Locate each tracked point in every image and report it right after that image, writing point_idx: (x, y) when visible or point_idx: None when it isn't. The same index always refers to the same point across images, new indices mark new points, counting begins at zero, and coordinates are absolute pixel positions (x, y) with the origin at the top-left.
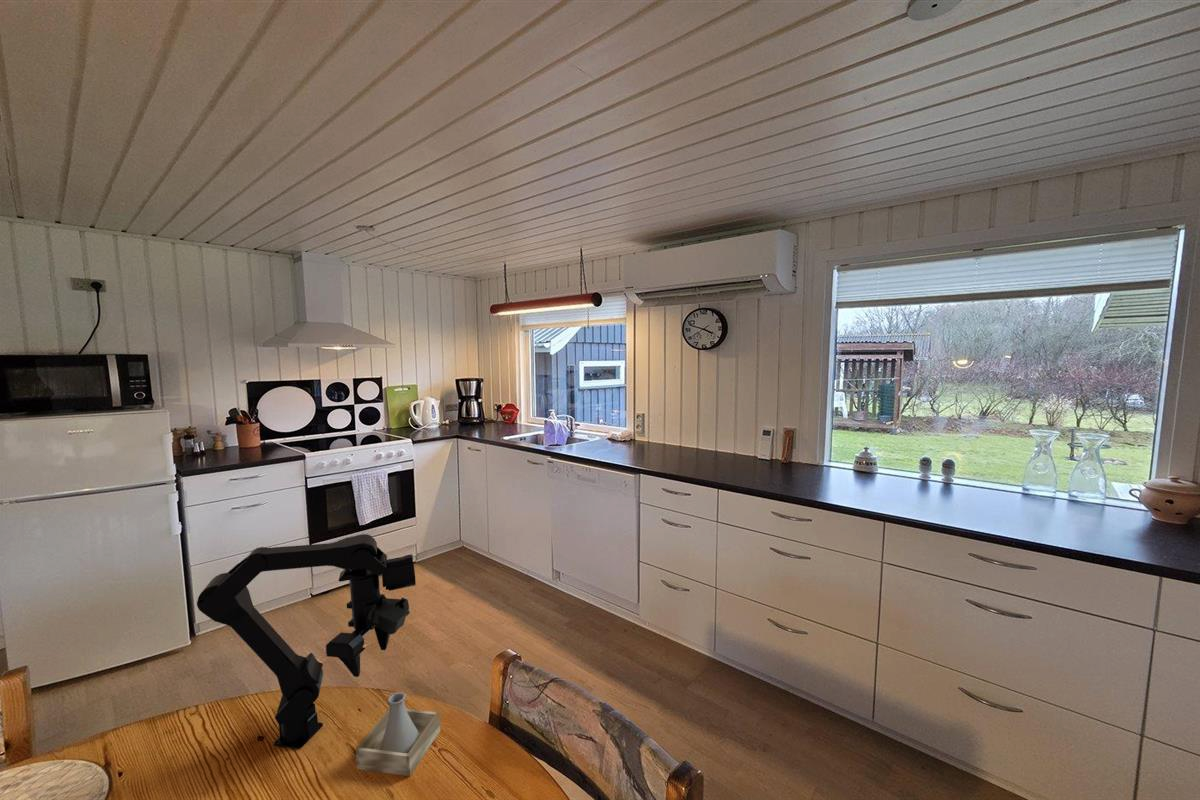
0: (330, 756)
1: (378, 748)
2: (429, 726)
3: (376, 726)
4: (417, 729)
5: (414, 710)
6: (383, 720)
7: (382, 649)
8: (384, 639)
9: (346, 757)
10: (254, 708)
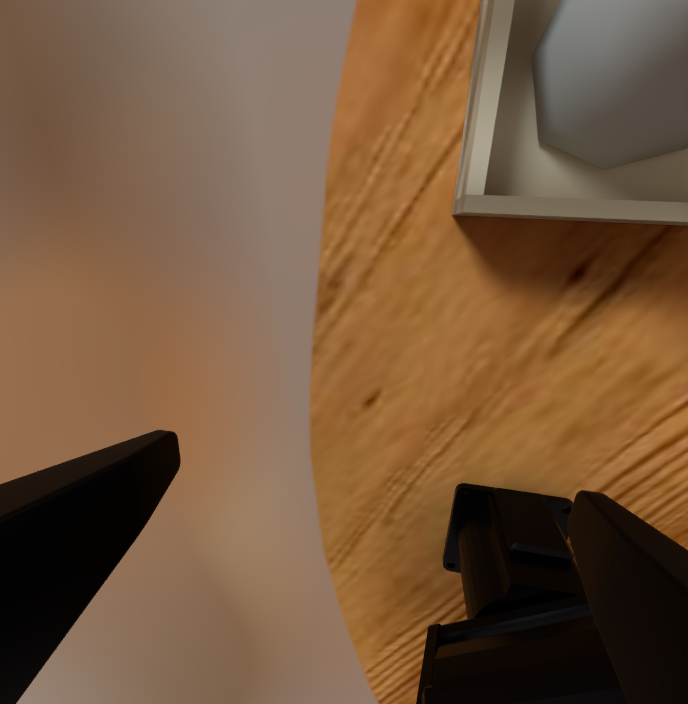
0: (621, 380)
1: (649, 172)
2: None
3: (625, 209)
4: (524, 17)
5: (497, 19)
6: (566, 198)
7: (175, 458)
8: (82, 510)
9: (637, 314)
10: (387, 682)
